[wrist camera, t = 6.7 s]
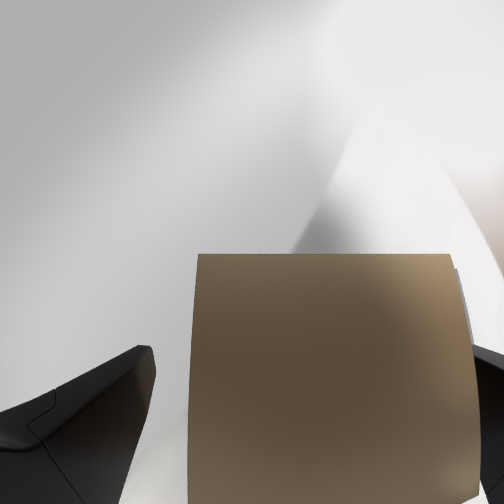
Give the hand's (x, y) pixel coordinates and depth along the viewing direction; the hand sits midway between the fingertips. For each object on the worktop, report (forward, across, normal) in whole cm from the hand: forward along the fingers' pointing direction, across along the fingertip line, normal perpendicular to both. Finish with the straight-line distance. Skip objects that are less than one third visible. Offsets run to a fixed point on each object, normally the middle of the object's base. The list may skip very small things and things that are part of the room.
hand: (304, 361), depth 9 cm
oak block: (+5, 0, +7) cm, 8 cm away
